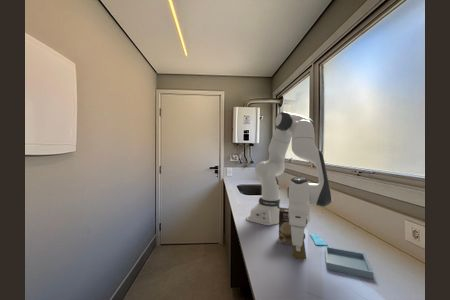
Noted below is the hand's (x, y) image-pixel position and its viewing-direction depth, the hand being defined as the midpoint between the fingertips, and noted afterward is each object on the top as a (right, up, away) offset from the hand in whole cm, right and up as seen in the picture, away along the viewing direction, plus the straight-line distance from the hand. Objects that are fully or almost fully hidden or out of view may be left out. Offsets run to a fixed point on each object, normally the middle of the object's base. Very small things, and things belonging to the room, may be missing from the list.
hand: (299, 246), depth 86 cm
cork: (0, -4, 0) cm, 4 cm away
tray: (+17, -4, -6) cm, 18 cm away
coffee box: (-1, -4, +13) cm, 14 cm away
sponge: (+15, -5, +15) cm, 22 cm away
